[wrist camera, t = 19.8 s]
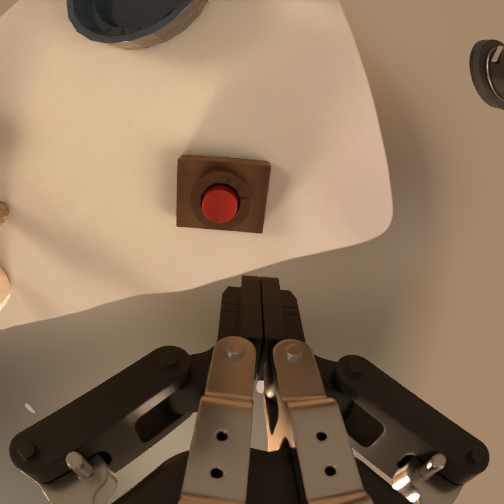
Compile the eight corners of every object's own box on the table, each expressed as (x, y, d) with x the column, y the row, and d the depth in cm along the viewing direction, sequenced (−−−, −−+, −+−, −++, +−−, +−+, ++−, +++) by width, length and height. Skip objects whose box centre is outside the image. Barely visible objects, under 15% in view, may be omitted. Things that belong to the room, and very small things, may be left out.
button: (238, 186, 31) (238, 191, 30) (236, 217, 33) (235, 224, 31) (204, 183, 31) (202, 188, 29) (203, 215, 33) (200, 221, 31)
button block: (269, 161, 33) (272, 169, 30) (261, 225, 37) (263, 239, 34) (181, 154, 33) (174, 162, 29) (180, 218, 37) (173, 232, 33)
